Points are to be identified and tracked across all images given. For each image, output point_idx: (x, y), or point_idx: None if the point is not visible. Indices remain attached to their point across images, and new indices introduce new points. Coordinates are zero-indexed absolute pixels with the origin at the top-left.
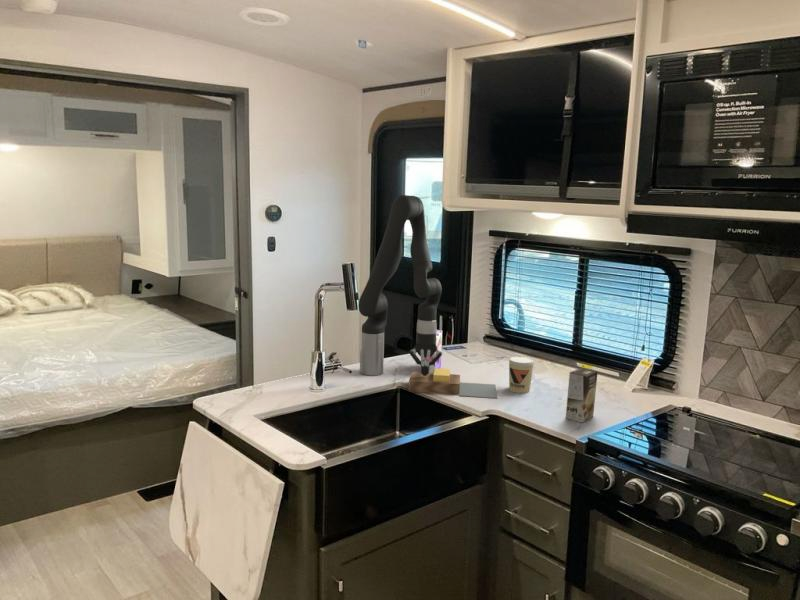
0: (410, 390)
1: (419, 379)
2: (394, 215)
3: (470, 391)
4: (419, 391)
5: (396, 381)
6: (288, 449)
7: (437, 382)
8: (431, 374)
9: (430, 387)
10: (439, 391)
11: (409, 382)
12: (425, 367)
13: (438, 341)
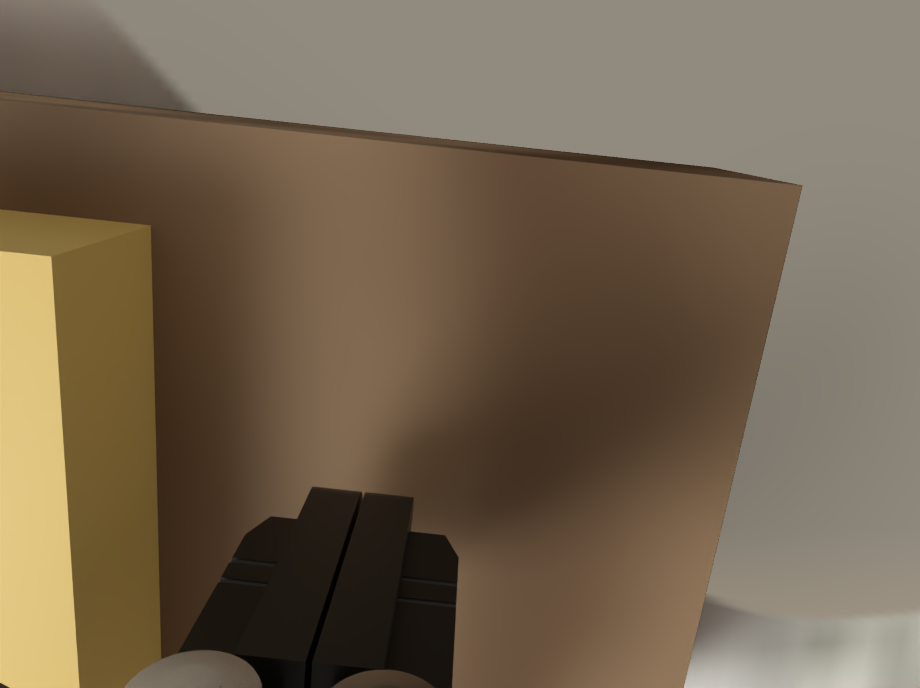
0: (682, 165)
1: (505, 344)
2: None
3: None
4: (499, 145)
5: (860, 680)
6: None
7: (28, 126)
8: None
9: (254, 123)
10: (88, 102)
11: (771, 181)
12: (296, 636)
13: None
